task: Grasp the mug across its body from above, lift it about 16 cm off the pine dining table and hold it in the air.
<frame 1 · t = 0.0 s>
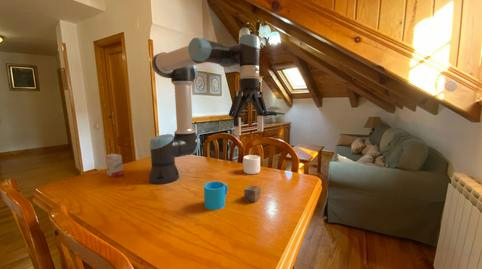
hand: (249, 133, 83), 28 cm above the table, fingers open, 13 cm apart
walnut cube: (252, 199, 87), on the table
ink box: (115, 175, 118), on the table
mug: (218, 203, 84), on the table
mug 2: (252, 171, 122), on the table
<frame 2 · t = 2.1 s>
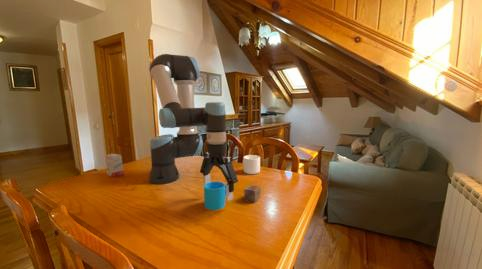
hand: (218, 194, 83), 4 cm above the table, fingers open, 13 cm apart
nothing on the table moved.
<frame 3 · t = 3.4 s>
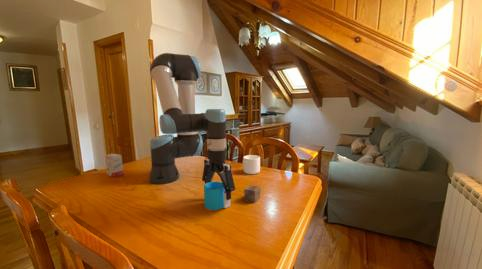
hand: (218, 202, 84), 0 cm above the table, fingers open, 10 cm apart
nothing on the table moved.
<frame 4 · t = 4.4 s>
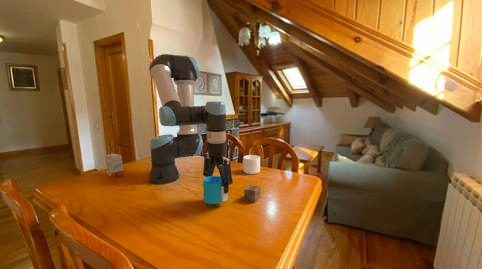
hand: (217, 196, 84), 2 cm above the table, fingers closed on mug, 8 cm apart
mug: (217, 197, 84), point 2 cm above the table, touching gripper
everything else where it was.
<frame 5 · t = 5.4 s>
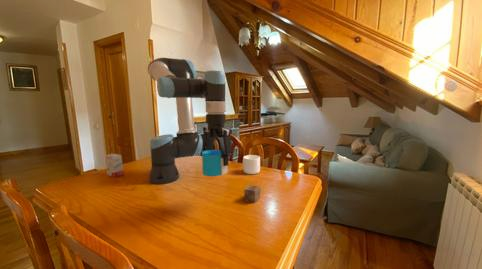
hand: (216, 170, 82), 13 cm above the table, fingers closed on mug, 8 cm apart
mug: (216, 171, 83), point 13 cm above the table, touching gripper
everything else where it was.
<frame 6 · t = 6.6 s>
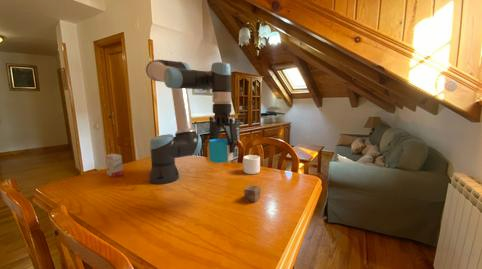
hand: (223, 158, 87), 17 cm above the table, fingers closed on mug, 8 cm apart
mug: (222, 159, 87), point 17 cm above the table, touching gripper
everything else where it was.
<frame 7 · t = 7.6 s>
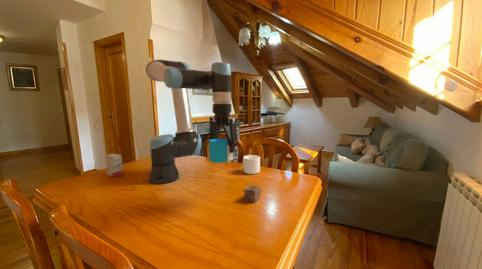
hand: (223, 158, 87), 17 cm above the table, fingers closed on mug, 8 cm apart
mug: (222, 159, 87), point 17 cm above the table, touching gripper
everything else where it was.
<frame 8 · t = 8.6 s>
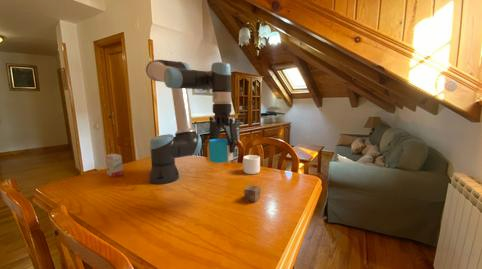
hand: (223, 158, 87), 17 cm above the table, fingers closed on mug, 8 cm apart
mug: (222, 159, 87), point 17 cm above the table, touching gripper
everything else where it was.
at the end: the gripper is holding mug; mug point 16.7 cm above the table; walnut cube moved 0.1 cm from its start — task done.
